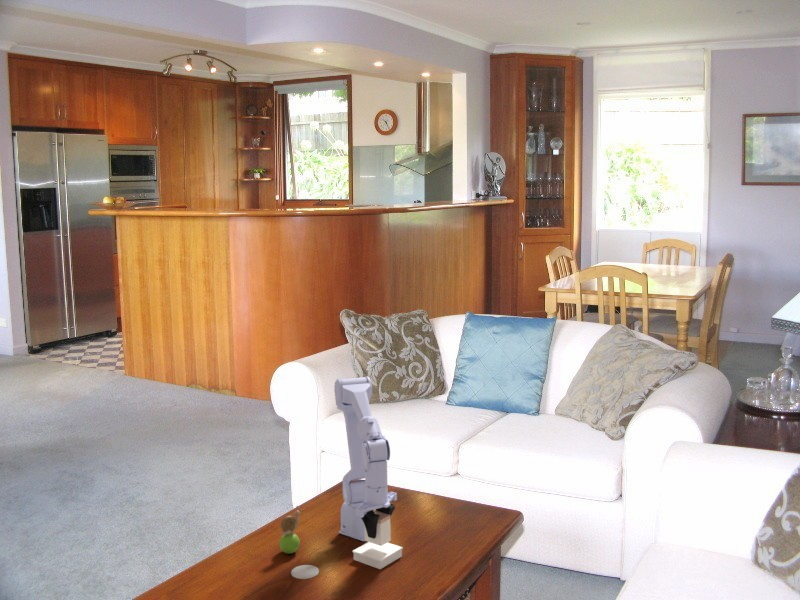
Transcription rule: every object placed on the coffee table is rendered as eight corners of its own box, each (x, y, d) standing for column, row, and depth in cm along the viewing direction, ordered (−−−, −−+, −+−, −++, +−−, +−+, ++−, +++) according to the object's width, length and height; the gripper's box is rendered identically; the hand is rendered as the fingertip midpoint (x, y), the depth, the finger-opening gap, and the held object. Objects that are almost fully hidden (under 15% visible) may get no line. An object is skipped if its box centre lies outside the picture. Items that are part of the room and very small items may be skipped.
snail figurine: (307, 550, 224) (305, 508, 222) (288, 559, 219) (286, 515, 217) (294, 545, 228) (292, 503, 226) (275, 552, 223) (273, 510, 221)
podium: (352, 559, 218) (352, 550, 218) (375, 546, 226) (375, 538, 225) (380, 569, 213) (380, 560, 212) (402, 556, 220) (402, 547, 220)
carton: (364, 540, 218) (364, 515, 217) (374, 535, 222) (374, 510, 221) (381, 545, 215) (380, 520, 214) (390, 540, 218) (390, 515, 217)
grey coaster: (285, 574, 212) (285, 572, 211) (304, 564, 217) (304, 562, 217) (305, 582, 207) (305, 580, 207) (324, 572, 213) (324, 569, 213)
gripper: (370, 496, 208) (371, 548, 210) (405, 479, 219) (406, 528, 221) (349, 490, 212) (350, 540, 214) (384, 474, 224) (385, 522, 226)
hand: (377, 534), depth 218 cm, fingers closed on carton, 4 cm apart
